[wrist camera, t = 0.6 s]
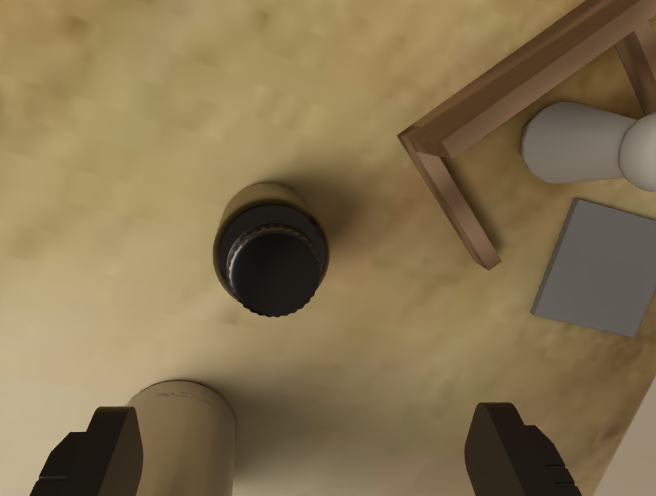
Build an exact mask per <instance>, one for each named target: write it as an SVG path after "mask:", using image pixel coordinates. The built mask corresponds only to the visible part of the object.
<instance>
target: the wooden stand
mask: <svg viewBox="0 0 656 496" xmlns="http://www.w3.org/2000/svg"><path fill="white" fill-rule="evenodd" d="M655 15H656V0H586V1H585V2H583V3H582V4H581V5H579V6H578V7H576V8H575V9H574V10H572V11H571V12H569V13H568V14H567V15H565V16H564V17H562V18H561V19H560V20H558V21H557V22H555V23H554V24H553V25H551V26H550V27H548V28H547V29H546V30H544V31H543V32H541V33H540V34H539V35H537V36H536V37H534V38H533V39H532V40H530V41H529V42H527V43H526V44H525V45H523V46H522V47H520V48H519V49H518V50H516V51H515V52H513V53H512V54H511V55H509V56H508V57H506V58H505V59H504V60H502V61H501V62H499V63H498V64H497V65H495V66H494V67H492V68H491V69H490V70H488V71H487V72H485V73H484V74H483V75H481V76H480V77H478V78H477V79H476V80H474V81H473V82H471V83H470V84H469V85H467V86H466V87H464V88H463V89H462V90H460V91H459V92H457V93H456V94H455V95H453V96H452V97H450V98H449V99H448V100H446V101H445V102H443V103H442V104H441V105H439V106H438V107H436V108H435V109H434V110H432V111H431V112H429V113H428V114H427V115H425V116H424V117H422V118H421V119H420V120H418V121H417V122H415V123H414V124H413V125H411V126H410V127H408V128H407V129H406V130H404V131H403V132H401V133H400V134H399V135H397V136H398V138H399V140H400V141H401V143H402V144H403V146H404V148H405V149H406V151H407V153H408V154H409V156H410V157H411V159H412V161H413V162H414V164H415V165H416V167H417V169H418V170H419V172H420V174H421V175H422V177H423V178H424V180H425V182H426V183H427V185H428V186H429V188H430V190H431V191H432V193H433V195H434V196H435V198H436V199H437V201H438V203H439V204H440V206H441V207H442V209H443V211H444V212H445V214H446V216H447V217H448V219H449V220H450V222H451V224H452V225H453V227H454V228H455V230H456V232H457V233H458V235H459V237H460V238H461V240H462V241H463V243H464V245H465V246H466V248H467V249H468V251H469V253H470V254H471V256H472V258H473V259H474V261H475V262H476V263H478V264H479V265H481V266H482V267H484V268H485V269H487V270H490V269H492V268H493V267H494V266H496V265H497V264H499V263H500V262H502V261H501V259H500V258H499V256H498V254H497V253H496V251H495V249H494V248H493V246H492V244H491V243H490V241H489V239H488V238H487V236H486V234H485V233H484V231H483V229H482V228H481V226H480V224H479V223H478V221H477V219H476V218H475V216H474V214H473V212H472V211H471V209H470V207H469V206H468V204H467V202H466V201H465V199H464V197H463V196H462V194H461V192H460V191H459V189H458V187H457V186H456V184H455V182H454V181H453V179H452V177H451V176H450V174H449V172H448V171H447V169H446V167H445V166H444V164H443V162H442V161H441V159H440V157H443V158H448V159H454V158H455V157H456V156H458V155H459V154H461V153H462V152H463V151H465V150H466V149H468V148H469V147H470V146H472V145H473V144H475V143H476V142H478V141H479V140H480V139H482V138H483V137H485V136H486V135H487V134H489V133H490V132H492V131H493V130H494V129H496V128H497V127H499V126H500V125H502V124H503V123H504V122H506V121H507V120H509V119H510V118H511V117H513V116H514V115H516V114H517V113H518V112H520V111H521V110H523V109H524V108H525V107H527V106H528V105H530V104H531V103H533V102H534V101H535V100H537V99H538V98H540V97H541V96H542V95H544V94H545V93H547V92H548V91H549V90H551V89H552V88H554V87H555V86H557V85H558V84H559V83H561V82H562V81H564V80H565V79H566V78H568V77H569V76H571V75H572V74H573V73H575V72H576V71H578V70H579V69H580V68H582V67H583V66H585V65H586V64H588V63H589V62H590V61H592V60H593V59H595V58H596V57H597V56H599V55H600V54H602V53H603V52H604V51H606V50H607V49H609V48H610V47H612V46H613V45H615V47H616V49H617V51H618V54H619V56H620V58H621V61H622V63H623V65H624V67H625V70H626V72H627V74H628V76H629V79H630V81H631V83H632V86H633V88H634V90H635V92H636V95H637V97H638V99H639V101H640V104H641V106H642V108H643V111H644V113H645V115H646V116H648V115H650V114H652V113H654V112H656V36H655V34H654V31H653V29H652V26H651V24H650V21H649V20H650V19H651V18H652V17H654V16H655Z"/></svg>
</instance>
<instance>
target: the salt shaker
mask: <svg viewBox="0 0 656 496" xmlns="http://www.w3.org/2000/svg"><path fill="white" fill-rule="evenodd" d="M519 154H520V155H521V157H522V158H523V160H524V161H525V163H526V165H527V167H528V168H529V170H530V172H531V173H532V174H534V175H535V176H537V177H539V178H540V179H542V180H543V181H545V182H547V183H573V182H583V181H593V180H603V179H616V178H625V179H626V180H628V181H629V182H631V183H632V184H634V185H635V186H637V187H638V188H639V189H642V190H646V191H656V112H654V113H652V114H650V115H648V116H645V117H643V118H641V119H639V120H635V119H632V118H628V117H625V116H622V115H618V114H615V113H611V112H608V111H605V110H601V109H598V108H594V107H591V106H587V105H584V104H581V103H574V102H562V101H561V102H558V103H555V104H553V105H551V106H548V107H546V108H544V109H542V110H540V111H539V112H538V113H537V115H536V116H535V117H534V118H533V119H532V120H531V121H530V122H529V123H528V124H527V125H526V126H524V127H523V128H522V134H521V140H520V147H519Z"/></svg>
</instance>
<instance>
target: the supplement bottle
mask: <svg viewBox="0 0 656 496" xmlns="http://www.w3.org/2000/svg"><path fill="white" fill-rule="evenodd" d="M329 258H330V250H329V242H328V239H327V235H326V233H325V230H324V228H323V226H322V224H321V223H320V221H319V220H318V218H317V217H316V215H315V214H314V213H313V211H312V210H311V208H310V207H309V206H308V204H307V203H306V202H305V200H304V199H303V198H302V197H301V196H300V195H299V194H297V193H296V192H295V191H293V190H292V189H290V188H288V187H286V186H283V185H280V184H276V183H259V184H255V185H251V186H249V187H247V188H245V189H243V190H241V191H240V192H239V193H237V194H236V195H235V196H234V197H233V198H232V199H231V200H230V202H229V203H228V204H227V206H226V208H225V210H224V212H223V215H222V218H221V221H220V224H219V227H218V230H217V233H216V237H215V240H214V244H213V264H214V269H215V272H216V275H217V277H218V279H219V281H220V283H221V285H222V286H223V287H224V289H225V290H226V291H227V292H228V293H229V294H230V295H231V296H232V297H233V298H234V299H236V300H237V301H238V302H240V303H242V304H243V306H244V308H247V309H249V310H250V311H251V312H253V313H257V314H258V315H260V316H263V315H265V316H267V317H272V316H275V317H280V316H287V315H288V314H290V313H295V312H296V311H297V310H298V309H301V308H303V307H304V305H305V304H307V303H308V302H309V301H310V298H311V297H313V296H314V294H315V291H316V290H317V288H318V287H319V286H320V284H321V283H322V281H323V279H324V277H325V275H326V272H327V269H328V265H329Z"/></svg>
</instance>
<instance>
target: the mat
mask: <svg viewBox="0 0 656 496" xmlns="http://www.w3.org/2000/svg"><path fill="white" fill-rule="evenodd" d="M655 289H656V221H654V220H651V219H647V218H644V217H640V216H637V215H633V214H630V213H626V212H623V211H619V210H616V209H612V208H609V207H605V206H602V205H598V204H595V203H591V202H588V201H584V200H581V199H577V198H574V200H573V202H572V205H571V207H570V210H569V213H568V215H567V218H566V220H565V223H564V226H563V228H562V231H561V234H560V236H559V239H558V241H557V244H556V247H555V249H554V252H553V254H552V257H551V260H550V262H549V265H548V267H547V270H546V273H545V275H544V278H543V281H542V283H541V286H540V288H539V291H538V294H537V296H536V299H535V301H534V304H533V307H532V309H531V312H530V313H532V314H533V315H536V316H540V317H544V318H549V319H553V320H558V321H562V322H567V323H571V324H576V325H580V326H585V327H589V328H594V329H598V330H602V331H607V332H611V333H616V334H620V335H625V336H629V337H635V335H636V333H637V330H638V328H639V326H640V323H641V321H642V319H643V317H644V314H645V312H646V310H647V307H648V305H649V303H650V300H651V298H652V296H653V294H654V291H655Z"/></svg>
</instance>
